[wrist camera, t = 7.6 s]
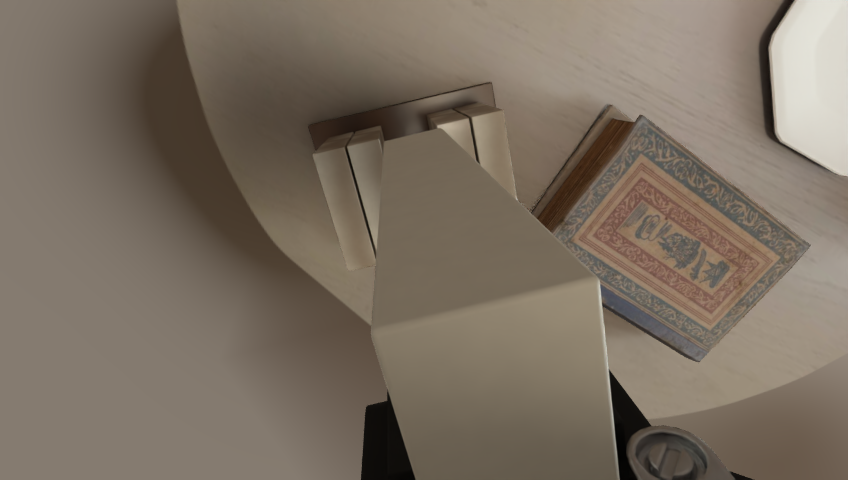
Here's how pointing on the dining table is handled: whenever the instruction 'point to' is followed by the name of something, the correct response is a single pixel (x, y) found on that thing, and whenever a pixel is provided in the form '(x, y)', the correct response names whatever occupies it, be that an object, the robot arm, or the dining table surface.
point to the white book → (485, 327)
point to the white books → (363, 156)
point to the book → (665, 234)
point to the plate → (812, 81)
